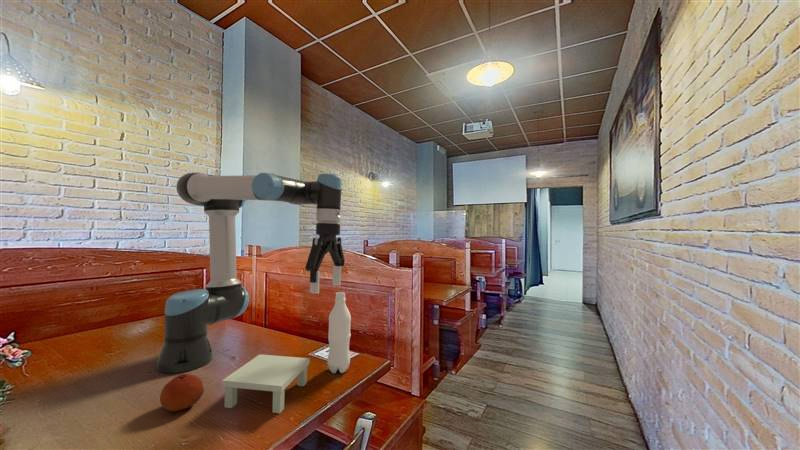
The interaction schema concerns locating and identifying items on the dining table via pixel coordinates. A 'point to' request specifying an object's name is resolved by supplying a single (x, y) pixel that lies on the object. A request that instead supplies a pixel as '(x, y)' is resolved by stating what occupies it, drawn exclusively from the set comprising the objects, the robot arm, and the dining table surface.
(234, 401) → the small white table
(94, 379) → the dining table surface
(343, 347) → the water bottle
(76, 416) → the dining table surface
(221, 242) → the robot arm
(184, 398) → the fruit
